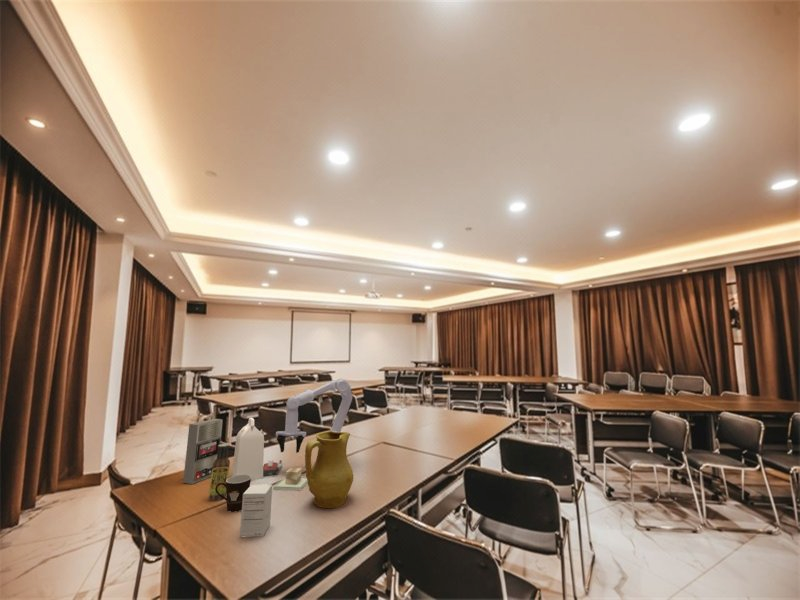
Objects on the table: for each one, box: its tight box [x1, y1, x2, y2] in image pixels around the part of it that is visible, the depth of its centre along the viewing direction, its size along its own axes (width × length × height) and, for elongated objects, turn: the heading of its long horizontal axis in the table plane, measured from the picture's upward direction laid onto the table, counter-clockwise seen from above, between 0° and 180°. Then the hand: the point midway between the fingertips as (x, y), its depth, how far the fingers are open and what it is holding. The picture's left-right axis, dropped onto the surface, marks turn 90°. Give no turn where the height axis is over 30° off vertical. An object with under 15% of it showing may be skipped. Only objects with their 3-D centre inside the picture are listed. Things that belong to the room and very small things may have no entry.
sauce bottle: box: [208, 443, 231, 501], centre depth 129 cm, size 6×6×20 cm
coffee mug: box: [215, 475, 252, 513], centre depth 120 cm, size 12×9×10 cm
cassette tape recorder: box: [182, 418, 223, 485], centre depth 150 cm, size 14×6×25 cm, turn 161°
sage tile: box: [272, 476, 308, 491], centre depth 141 cm, size 12×12×1 cm
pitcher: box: [304, 430, 354, 509], centre depth 126 cm, size 17×19×25 cm
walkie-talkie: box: [263, 459, 283, 478], centre depth 160 cm, size 9×4×20 cm
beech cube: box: [285, 467, 302, 485], centre depth 141 cm, size 5×5×5 cm
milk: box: [231, 417, 265, 481], centre depth 152 cm, size 12×12×26 cm
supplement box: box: [239, 483, 273, 538], centre depth 104 cm, size 7×7×13 cm
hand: (290, 452), depth 155 cm, fingers open, 7 cm apart
